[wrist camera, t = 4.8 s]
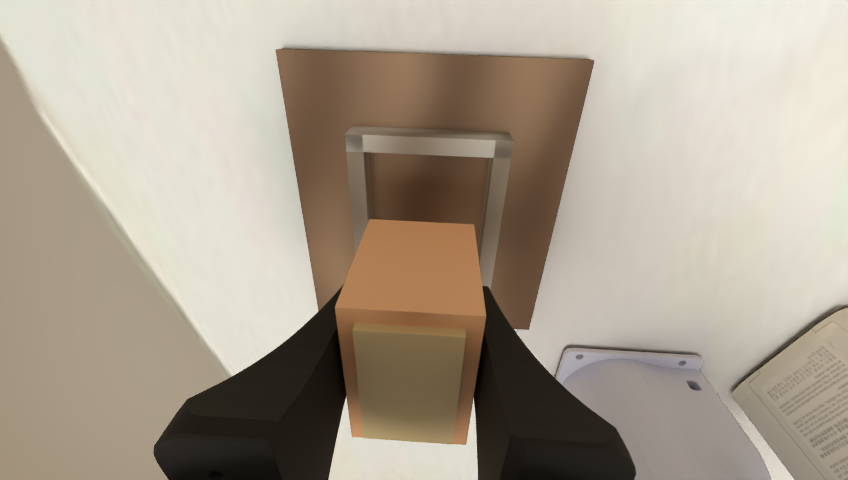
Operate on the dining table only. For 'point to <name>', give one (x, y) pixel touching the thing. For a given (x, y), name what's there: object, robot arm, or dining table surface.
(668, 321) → the dining table surface
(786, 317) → the dining table surface
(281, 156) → the dining table surface
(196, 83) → the dining table surface
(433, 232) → the connector plug
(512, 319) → the end holder
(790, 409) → the photo printer
